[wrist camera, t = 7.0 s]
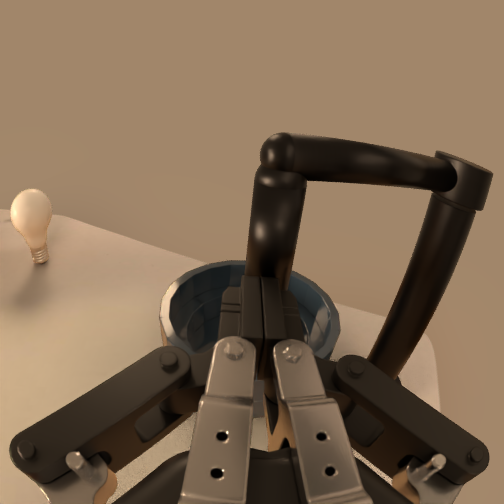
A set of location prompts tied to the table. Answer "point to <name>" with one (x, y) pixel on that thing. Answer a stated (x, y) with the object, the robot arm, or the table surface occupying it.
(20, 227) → the lightbulb
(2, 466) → the table surface
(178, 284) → the basin
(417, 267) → the base
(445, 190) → the spout
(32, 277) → the table surface
